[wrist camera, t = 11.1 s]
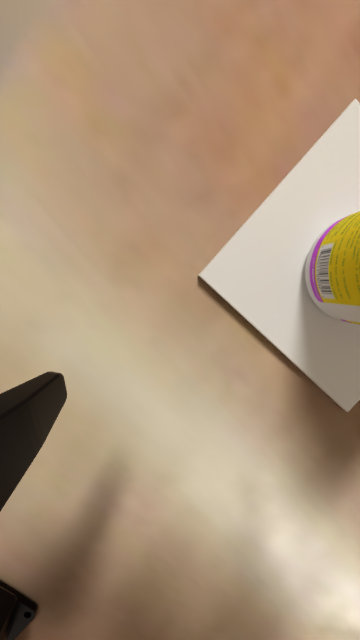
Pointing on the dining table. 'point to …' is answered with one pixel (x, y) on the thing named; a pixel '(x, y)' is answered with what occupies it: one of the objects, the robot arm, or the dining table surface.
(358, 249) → the supplement bottle
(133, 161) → the dining table surface
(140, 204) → the dining table surface
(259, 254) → the white mat
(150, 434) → the dining table surface
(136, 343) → the dining table surface
